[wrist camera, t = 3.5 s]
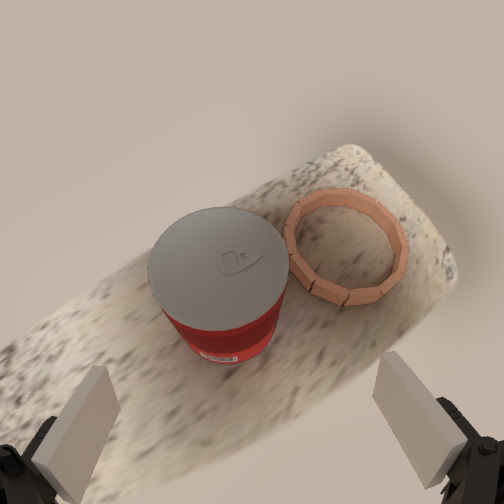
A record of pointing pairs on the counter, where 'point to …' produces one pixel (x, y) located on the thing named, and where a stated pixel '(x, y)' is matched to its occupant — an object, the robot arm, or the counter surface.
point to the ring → (358, 203)
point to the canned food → (221, 281)
